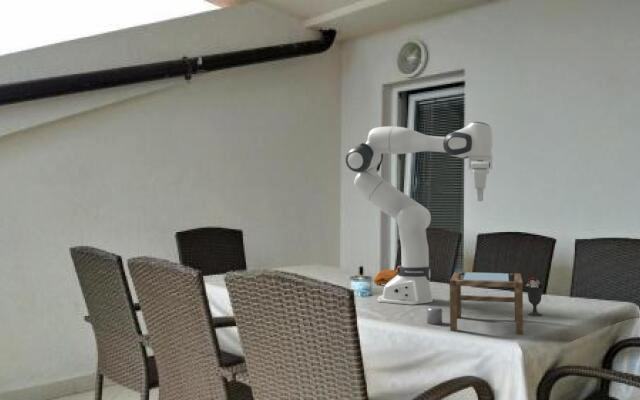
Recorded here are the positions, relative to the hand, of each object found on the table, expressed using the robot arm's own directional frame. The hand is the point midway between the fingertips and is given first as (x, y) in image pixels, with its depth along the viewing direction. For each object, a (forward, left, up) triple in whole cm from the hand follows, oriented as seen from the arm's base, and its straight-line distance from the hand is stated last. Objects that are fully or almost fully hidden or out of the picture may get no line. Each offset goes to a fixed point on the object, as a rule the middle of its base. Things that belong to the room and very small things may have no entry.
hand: (480, 201), depth 225 cm
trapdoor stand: (+3, -30, -41) cm, 50 cm away
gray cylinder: (-14, -31, -41) cm, 53 cm away
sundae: (+19, -9, -41) cm, 46 cm away
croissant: (-45, +53, -41) cm, 81 cm away
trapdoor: (+3, -29, -27) cm, 39 cm away
